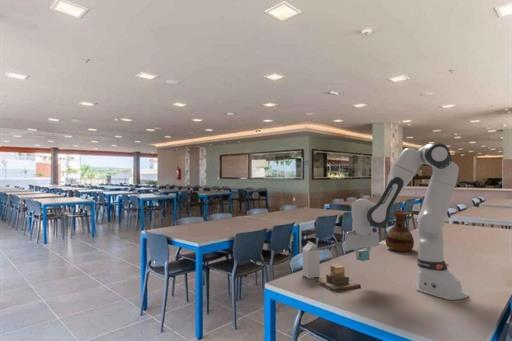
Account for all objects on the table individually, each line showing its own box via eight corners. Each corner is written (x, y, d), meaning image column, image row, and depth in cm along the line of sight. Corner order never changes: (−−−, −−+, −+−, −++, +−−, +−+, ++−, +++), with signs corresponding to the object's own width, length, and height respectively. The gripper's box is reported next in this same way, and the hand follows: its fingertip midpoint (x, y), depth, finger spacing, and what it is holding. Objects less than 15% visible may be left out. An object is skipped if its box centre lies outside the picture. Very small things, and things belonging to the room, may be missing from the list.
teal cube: (369, 259, 163) (368, 251, 164) (362, 261, 162) (362, 252, 162) (363, 258, 167) (362, 249, 168) (356, 259, 166) (356, 250, 166)
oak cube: (344, 276, 161) (344, 266, 161) (336, 277, 159) (336, 267, 159) (338, 273, 166) (338, 264, 166) (330, 274, 164) (330, 265, 164)
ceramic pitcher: (387, 251, 234) (386, 211, 235) (384, 246, 254) (383, 209, 255) (416, 253, 229) (415, 212, 230) (411, 247, 248) (410, 209, 249)
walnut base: (360, 287, 158) (360, 278, 158) (334, 291, 152) (334, 282, 152) (340, 278, 173) (340, 269, 173) (315, 281, 167) (315, 273, 167)
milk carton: (308, 278, 172) (307, 243, 172) (302, 275, 178) (302, 241, 179) (319, 277, 174) (319, 243, 174) (314, 274, 180) (313, 240, 181)
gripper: (349, 232, 158) (350, 260, 158) (380, 228, 166) (382, 255, 166) (341, 230, 164) (342, 257, 164) (372, 227, 172) (373, 252, 171)
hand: (362, 256), depth 165 cm, fingers closed on teal cube, 4 cm apart
